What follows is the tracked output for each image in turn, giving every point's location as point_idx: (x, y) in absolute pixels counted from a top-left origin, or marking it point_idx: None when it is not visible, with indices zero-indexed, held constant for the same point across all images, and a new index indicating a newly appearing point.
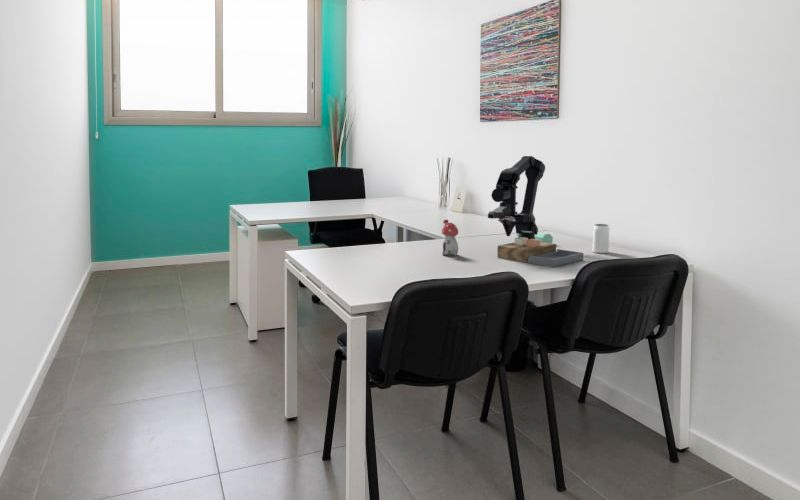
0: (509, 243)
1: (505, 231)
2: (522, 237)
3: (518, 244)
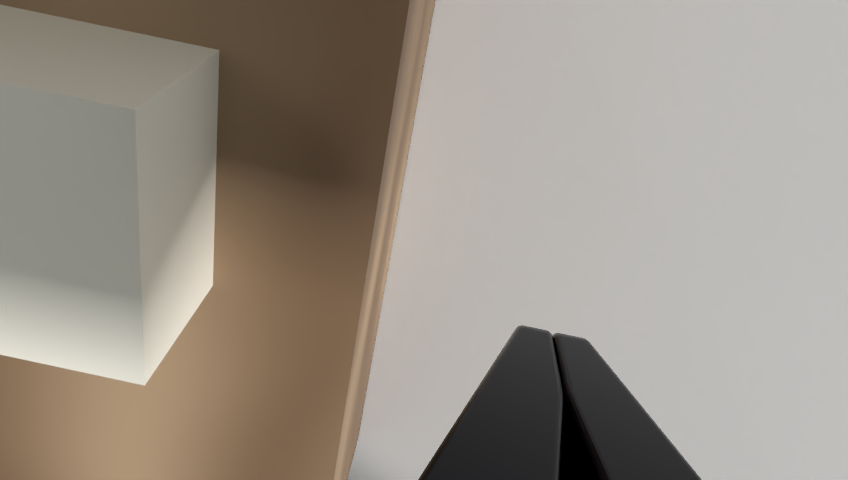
0: (388, 57)
1: (664, 447)
2: (52, 351)
3: (70, 21)
